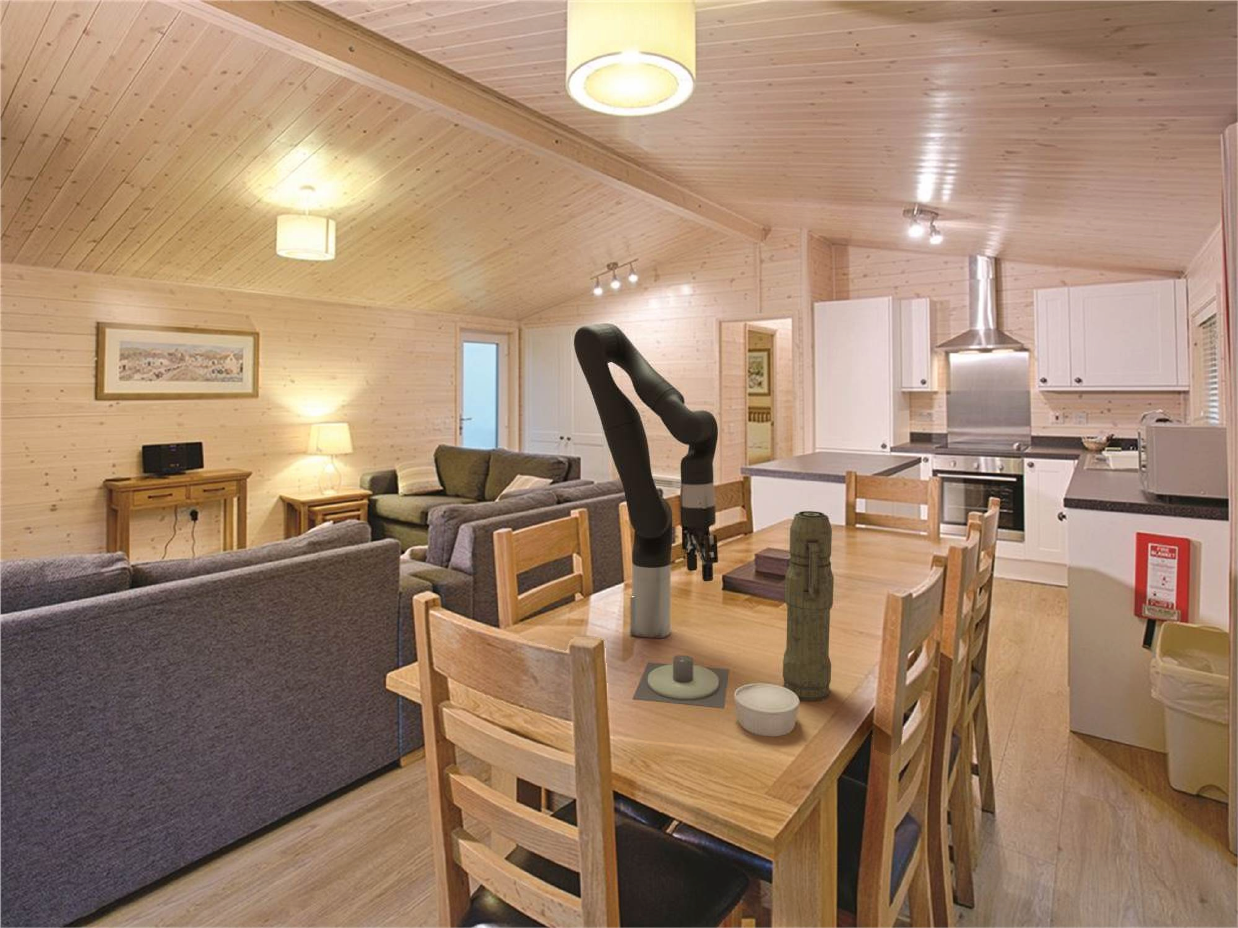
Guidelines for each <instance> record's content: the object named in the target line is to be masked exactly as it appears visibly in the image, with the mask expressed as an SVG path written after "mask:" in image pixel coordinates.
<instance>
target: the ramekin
mask: <svg viewBox="0 0 1238 928" xmlns="http://www.w3.org/2000/svg"><path fill="white" fill-rule="evenodd" d="M733 699H734V703H735V709H736V716H737V720H738V724H739V725H740V726H741V727H742V728H743V729H744V730H745V731H747V732H750V733H752V734H754V735H758V736H762V737H781V736H785V735H788V734H789V733H790V732H792V731H793V730H794V729H795V725H796V720H797V715H798V710H799V709H800V700H799V698H798V696H797V695H796V694H795V693H794V692H792V691H791V690H789V689H787V688H784V687H783V686H780V685H777V684H773V683H760V682H759V683H757V682H756V683H749V684H745V685H742V686H740V687H738V688H737V689H736V690H735V691H734V694H733Z"/></svg>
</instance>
